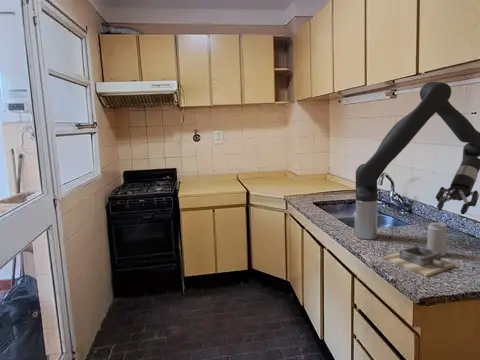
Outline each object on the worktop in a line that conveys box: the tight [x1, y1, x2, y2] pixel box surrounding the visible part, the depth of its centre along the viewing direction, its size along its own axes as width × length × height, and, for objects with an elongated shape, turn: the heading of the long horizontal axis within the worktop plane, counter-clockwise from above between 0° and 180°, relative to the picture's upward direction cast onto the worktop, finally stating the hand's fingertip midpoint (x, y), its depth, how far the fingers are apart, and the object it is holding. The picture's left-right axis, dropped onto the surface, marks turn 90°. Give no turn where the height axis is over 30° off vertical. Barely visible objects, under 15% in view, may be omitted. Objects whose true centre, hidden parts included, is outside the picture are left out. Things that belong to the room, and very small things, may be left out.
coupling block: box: [382, 245, 456, 277], centre depth 128 cm, size 18×15×4 cm
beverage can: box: [426, 222, 448, 257], centre depth 134 cm, size 6×6×12 cm
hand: (450, 211), depth 139 cm, fingers open, 8 cm apart
